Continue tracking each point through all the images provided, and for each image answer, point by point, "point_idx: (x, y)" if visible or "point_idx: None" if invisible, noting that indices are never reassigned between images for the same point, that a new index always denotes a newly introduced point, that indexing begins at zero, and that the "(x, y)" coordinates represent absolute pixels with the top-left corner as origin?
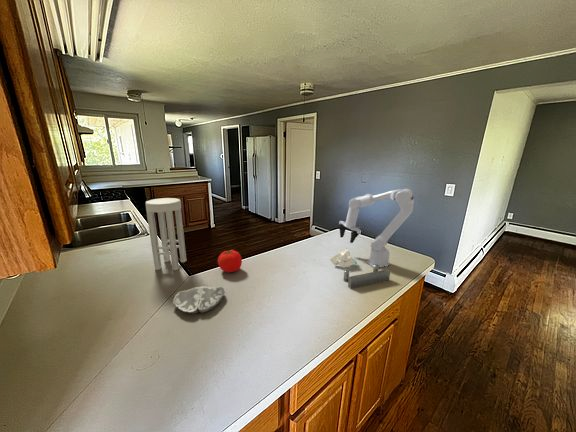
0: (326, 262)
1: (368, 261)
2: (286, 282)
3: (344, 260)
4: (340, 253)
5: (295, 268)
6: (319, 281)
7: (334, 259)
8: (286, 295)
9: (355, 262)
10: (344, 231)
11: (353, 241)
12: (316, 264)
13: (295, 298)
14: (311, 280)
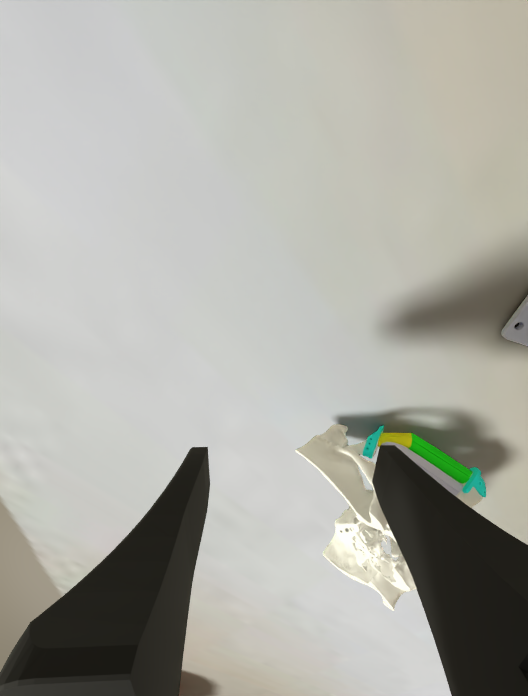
0: (286, 504)
1: (524, 323)
2: (304, 655)
3: None
4: (308, 454)
5: (243, 602)
6: (384, 614)
7: (354, 556)
8: (359, 683)
9: (484, 495)
10: (185, 528)
11: (406, 460)
12: (269, 543)
13: (389, 682)
14: (356, 621)
